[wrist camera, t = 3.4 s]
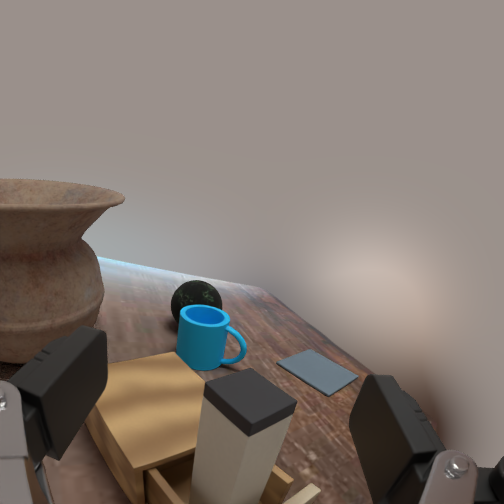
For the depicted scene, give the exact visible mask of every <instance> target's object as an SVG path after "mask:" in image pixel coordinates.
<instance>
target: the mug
mask: <svg viewBox="0 0 504 504" xmlns="http://www.w3.org/2000/svg"><path fill="white" fill-rule="evenodd" d="M229 323H230V317H229V315H228V314H227V313H226V312H224V311H222V310H220V309H218V308H215V307H212V306H207V305H189V306H186V307H183V308H182V309H181V310H180V319H179V328H178V338H177V347H176V354H177V355H178V356H179V357H180V358H181V359H182V360H183V361H184V362H185V363H186V364H187V365H188V366H189V367H190V368H191V369H195V370H203V371H204V370H212V369H215V368H217V367H219V366H220V365H221V364H234V363H237V362H239V361H240V360H242V359H243V358H244V356H245V354H246V352H247V346H246V343H245V340H244V338H243V337H242V336H241V335H240V334H239V332H237V331H236V330H235V329H233V328H232V327H230V326H229ZM228 332H229V333H231V334H232V335H233V336H234V337H235V338H236V339H237V340H238V342H239V344H240V347H241V352H240V354H239V355H238V356H237V357H236V358H233V359H223V356H224V350H225V345H226V339H227V334H228Z"/></svg>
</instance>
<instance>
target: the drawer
mask: <svg viewBox="0 0 504 504" xmlns="http://www.w3.org/2000/svg"><path fill="white" fill-rule="evenodd" d="M194 457H195V452H194V453H192V454H189V455H186V456H184V457H181V458H178V459H176V460H173V461H170V462H167V463H164V464H162V465H159V466H156V467H153V468H150V469H147V470H143V484H144V496H145V499H146V500H147V501H148V503H149V504H189V497H190V489H191V481H192V473H193V465H194ZM293 481H294V479H292V478H291V477H290V476H289V475H287V474H286V473H285V472H283V471H282V470H281V469H280V468H278V467H277V466H276V465H275V464H274V466H273V469H272V471H271V474H270V476H269V479H268V481H267V483H266V486H265V488H264V491H263V493H262V495H261V498H260V500H259V502H258V504H282V502H283V500H284V498H285V497H286V495H287V493H288V491H289V489H290V487H291V485H292V483H293ZM320 491H321V490H320V489H319V488H317V487H316V486H315V485H313V484H312V483H310V484H309V485H308V486H306V487H305V488H304V489H302V490H301V491H300V492H298V493H297V494H296V495H294V496H293V497H291V498H290V499H289V500H287V501H286V502H284V503H283V504H313V502H314V501H315V499H316V498H317V496H318V494H319V493H320Z"/></svg>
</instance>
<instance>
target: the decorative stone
mask: <svg viewBox="0 0 504 504" xmlns="http://www.w3.org/2000/svg"><path fill="white" fill-rule="evenodd" d="M189 305H207V306H212V307H215V308H218V309H220V310H222V300H221V297H220V295H219V293H218V291H217V290H216V289H215V288H214V287H213V286H212V285H210V284H209V283H207V282H204V281H199V280H194V281H189V282H186V283H184V284H182V285H181V286H180V287H179V288H178V289H177V290H176V291H175V293H174V295H173V297H172V300H171V311H172V314H173V317H174V319H175V320H176V322H177V323H178V324H179V319H180V310H181V309H182V308H183V307H186V306H189Z"/></svg>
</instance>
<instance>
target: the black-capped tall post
mask: <svg viewBox="0 0 504 504" xmlns="http://www.w3.org/2000/svg"><path fill="white" fill-rule="evenodd" d="M296 404H297V400H295V399H294V398H292V397H291V396H289V395H288V394H287V393H285V392H284V391H282V390H281V389H279V388H278V387H277V386H275V385H274V384H272V383H271V382H270V381H268V380H267V379H265V378H264V377H263V376H261V375H260V374H259V373H257V372H256V371H254V370H253V369H252V368H248V369H245V370H242V371H239V372H236V373H233V374H230V375H227V376H224V377H221V378H218V379H214V380H211V381H208V382H205V386H204V392H203V399H202V406H201V413H200V420H199V427H198V435H197V442H196V450H195V457H194V465H193V473H192V481H191V489H190V497H189V504H258V502H259V500H260V498H261V495H262V493H263V491H264V488H265V486H266V483H267V481H268V479H269V476H270V474H271V471H272V469H273V466H274V464H275V461H276V459H277V456H278V454H279V451H280V448H281V446H282V443H283V440H284V438H285V435H286V432H287V430H288V427H289V424H290V421H291V419H292V416H293V413H294V410H295V407H296Z"/></svg>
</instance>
